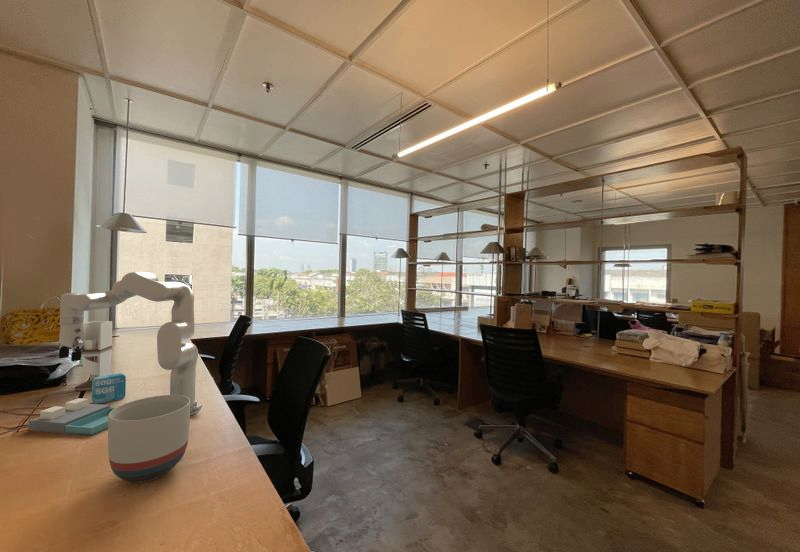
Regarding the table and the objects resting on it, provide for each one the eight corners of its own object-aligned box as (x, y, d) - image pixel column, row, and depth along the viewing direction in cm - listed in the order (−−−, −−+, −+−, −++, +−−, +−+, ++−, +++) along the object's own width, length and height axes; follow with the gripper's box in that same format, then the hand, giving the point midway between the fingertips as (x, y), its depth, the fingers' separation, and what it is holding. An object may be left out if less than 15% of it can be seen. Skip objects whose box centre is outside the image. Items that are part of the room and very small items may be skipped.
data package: (92, 405, 155) (93, 379, 155) (91, 402, 158) (92, 377, 158) (125, 398, 164) (125, 374, 164) (123, 395, 167) (124, 372, 167)
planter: (177, 450, 117) (178, 390, 117) (198, 472, 104) (200, 405, 104) (100, 476, 101) (102, 407, 101) (114, 507, 88) (116, 427, 88)
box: (134, 415, 144) (135, 409, 144) (92, 435, 126) (92, 427, 126) (110, 414, 145) (110, 407, 145) (64, 433, 127) (64, 425, 127)
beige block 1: (65, 414, 135) (65, 407, 135) (51, 419, 130) (51, 412, 130) (54, 413, 136) (54, 406, 136) (40, 418, 131) (40, 411, 131)
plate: (109, 414, 145) (110, 405, 145) (64, 433, 127) (64, 423, 127) (77, 411, 147) (78, 403, 147) (28, 430, 129) (28, 420, 129)
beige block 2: (88, 405, 144) (88, 398, 144) (75, 410, 139) (76, 403, 139) (78, 405, 145) (78, 398, 145) (65, 409, 140) (65, 402, 140)
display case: (88, 383, 183) (89, 321, 183) (111, 382, 187) (112, 321, 187) (74, 390, 172) (76, 324, 173) (99, 389, 176) (100, 324, 176)
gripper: (93, 321, 146) (91, 359, 146) (71, 318, 152) (70, 354, 152) (71, 323, 139) (69, 363, 139) (50, 319, 145) (48, 358, 145)
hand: (69, 359), depth 146 cm, fingers open, 9 cm apart
